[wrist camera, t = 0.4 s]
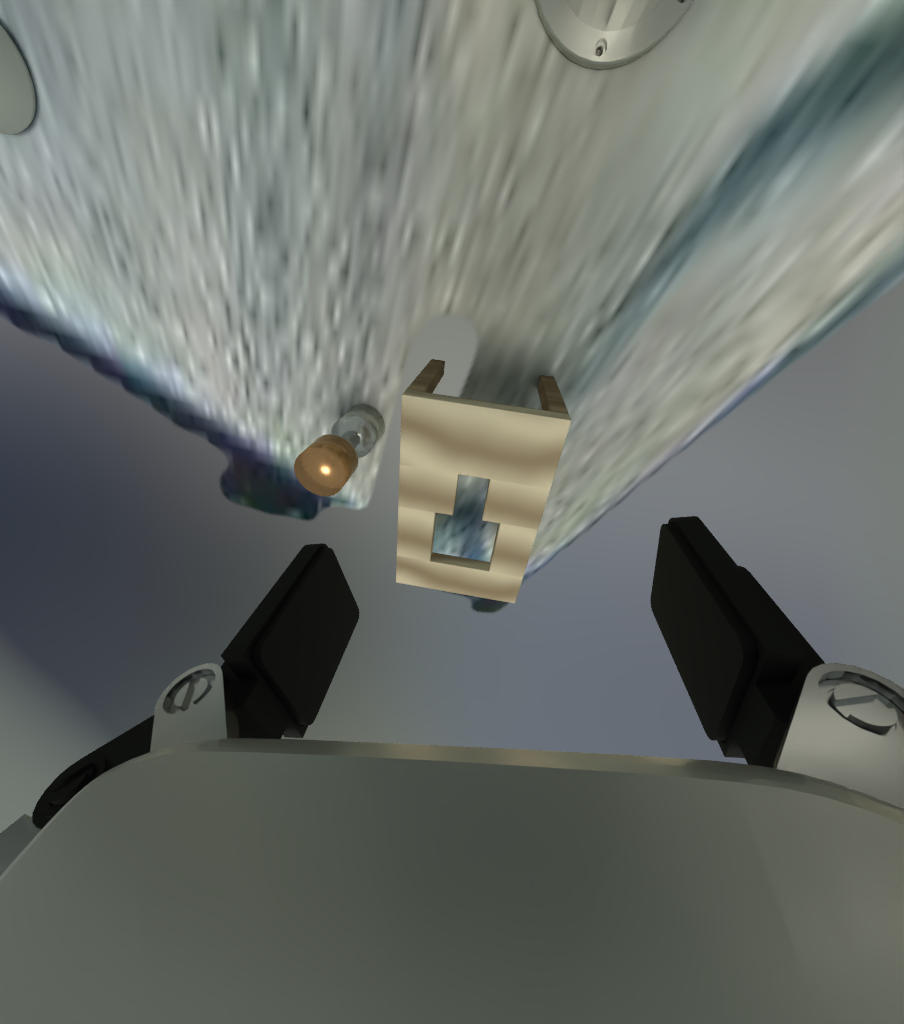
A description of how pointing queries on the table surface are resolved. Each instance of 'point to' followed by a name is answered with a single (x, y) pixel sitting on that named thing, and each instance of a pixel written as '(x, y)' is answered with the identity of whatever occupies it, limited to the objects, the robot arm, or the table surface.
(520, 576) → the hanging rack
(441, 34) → the table surface
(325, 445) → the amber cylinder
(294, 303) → the table surface
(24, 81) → the alcohol
